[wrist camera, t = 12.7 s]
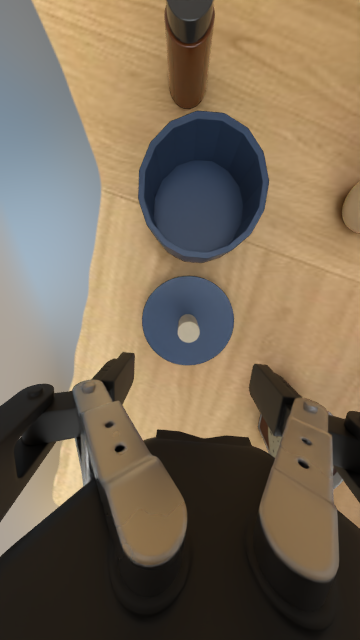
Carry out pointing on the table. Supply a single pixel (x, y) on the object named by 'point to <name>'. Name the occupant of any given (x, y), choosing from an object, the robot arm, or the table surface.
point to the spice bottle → (188, 48)
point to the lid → (188, 320)
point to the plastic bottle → (352, 209)
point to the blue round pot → (203, 185)
